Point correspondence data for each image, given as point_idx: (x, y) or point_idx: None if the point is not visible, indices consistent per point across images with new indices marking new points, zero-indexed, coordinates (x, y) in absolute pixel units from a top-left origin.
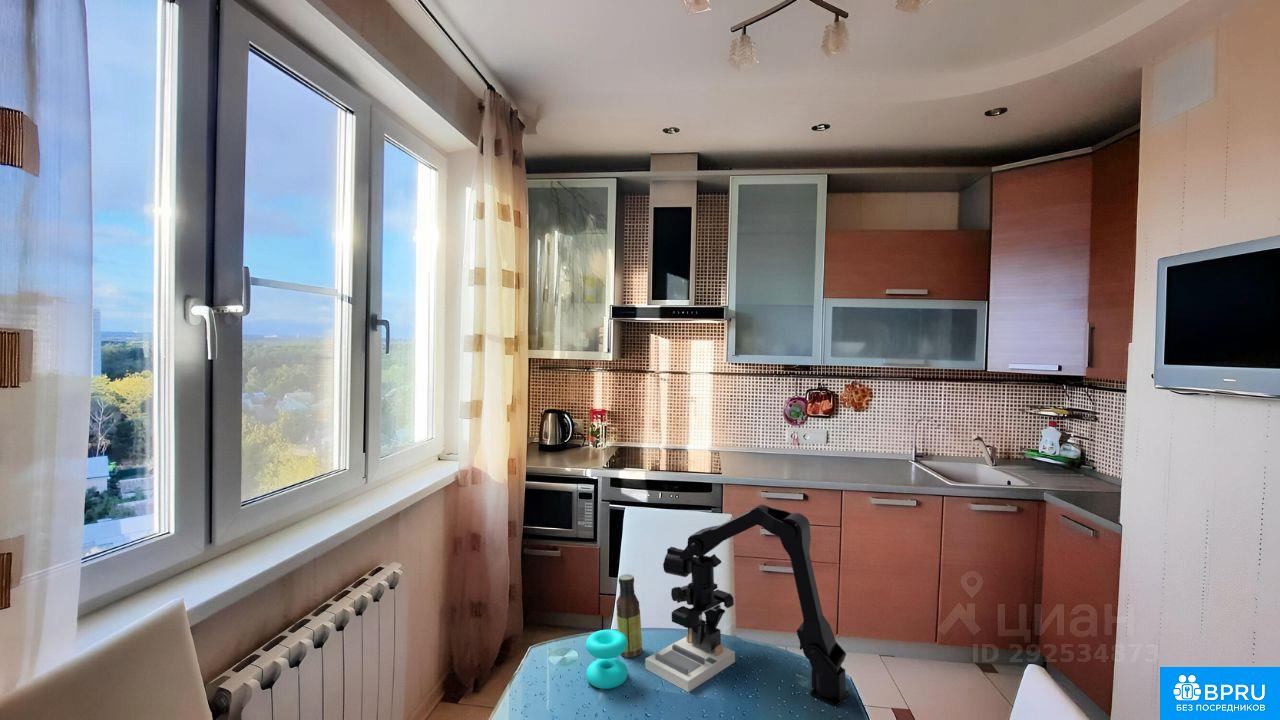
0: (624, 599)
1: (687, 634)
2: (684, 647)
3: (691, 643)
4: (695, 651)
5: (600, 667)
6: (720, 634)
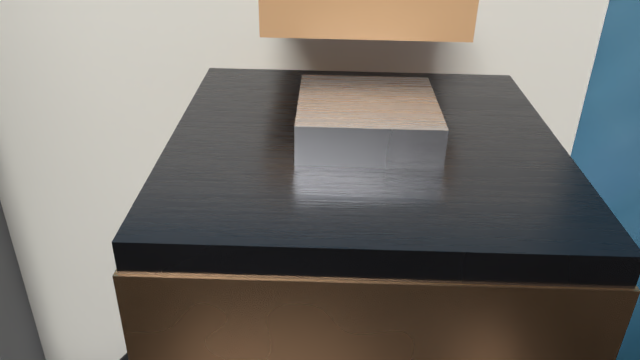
0: None
1: (264, 20)
2: (108, 61)
3: (296, 61)
4: None
5: None
6: None
